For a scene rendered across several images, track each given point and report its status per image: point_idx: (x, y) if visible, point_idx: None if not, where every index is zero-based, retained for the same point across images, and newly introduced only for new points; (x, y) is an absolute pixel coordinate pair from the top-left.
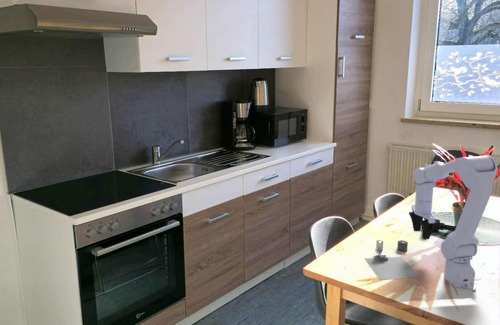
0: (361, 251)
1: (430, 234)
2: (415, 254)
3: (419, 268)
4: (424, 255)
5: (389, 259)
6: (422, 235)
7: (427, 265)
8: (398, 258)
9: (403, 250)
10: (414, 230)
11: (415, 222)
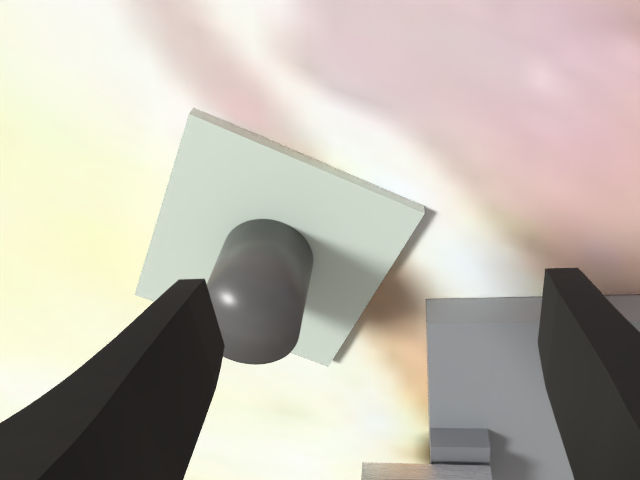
0: (259, 472)
1: (625, 324)
2: (292, 142)
3: (613, 211)
4: (314, 55)
5: (469, 414)
6: (555, 401)
7: (567, 114)
8: (460, 356)
9: (308, 284)
10: (219, 358)
11: (164, 470)
